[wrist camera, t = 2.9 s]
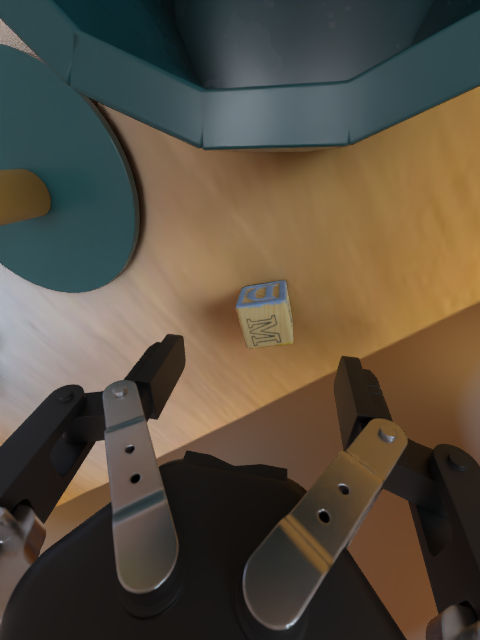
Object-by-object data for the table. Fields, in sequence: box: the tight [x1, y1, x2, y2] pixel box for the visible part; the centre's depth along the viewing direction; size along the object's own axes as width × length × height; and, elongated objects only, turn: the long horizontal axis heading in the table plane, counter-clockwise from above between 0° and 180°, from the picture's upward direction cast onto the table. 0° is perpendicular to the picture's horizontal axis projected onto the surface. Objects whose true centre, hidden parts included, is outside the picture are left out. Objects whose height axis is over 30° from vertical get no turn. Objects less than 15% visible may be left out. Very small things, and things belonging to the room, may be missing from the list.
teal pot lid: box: [0, 44, 140, 293], centre depth 15 cm, size 13×13×6 cm
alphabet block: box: [235, 280, 293, 349], centre depth 18 cm, size 3×3×3 cm
